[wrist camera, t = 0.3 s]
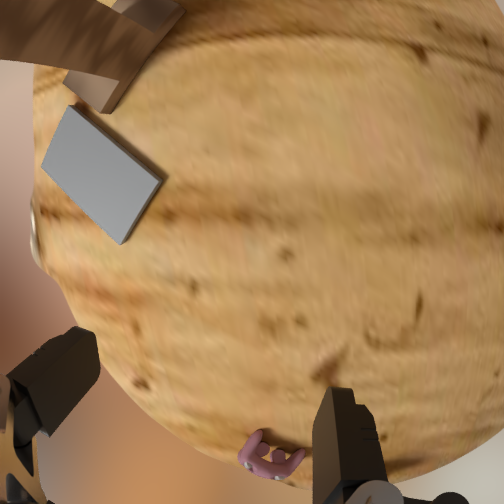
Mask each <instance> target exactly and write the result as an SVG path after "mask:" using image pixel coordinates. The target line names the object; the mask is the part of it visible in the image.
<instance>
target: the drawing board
mask: <svg viewBox="0 0 504 504" xmlns="http://www.w3.org/2000/svg"><path fill="white" fill-rule="evenodd" d="M41 168H42V169H43V170H44V171H45V172H46V173H47V174H48V175H49V176H50V177H51V178H52V179H53V180H54V181H55V183H56V184H57V185H58V186H59V187H60V188H61V189H62V190H63V191H64V192H65V193H66V194H67V195H68V196H69V197H70V198H71V199H72V200H73V201H74V202H75V203H76V204H77V205H78V206H79V207H80V208H81V209H82V210H83V211H84V212H85V213H86V214H87V215H88V216H89V217H90V218H91V219H92V220H93V221H94V222H95V223H96V224H97V225H98V226H99V227H100V228H101V229H103V230H104V231H105V232H106V233H107V234H108V235H109V236H110V237H111V238H112V239H113V240H114V241H115V242H116V243H117V244H119V245H122V244H123V243H125V241H126V239H127V238H128V236H129V234H130V232H131V231H132V229H133V227H134V226H135V224H136V222H137V221H138V219H139V217H140V216H141V214H142V212H143V211H144V209H145V208H146V206H147V204H148V203H149V201H150V200H151V198H152V197H153V195H154V194H155V192H156V190H157V189H158V187H159V186H160V184H161V183H162V181H163V180H162V179H161V178H159V177H158V176H157V175H156V174H155V173H154V172H152V171H151V170H150V169H149V168H148V167H146V166H145V165H144V164H143V163H142V162H140V161H139V160H138V159H137V158H136V157H134V156H133V155H132V154H131V153H130V152H128V151H127V150H126V149H125V148H124V147H123V146H121V145H120V144H119V143H118V142H117V141H115V140H114V139H113V138H112V137H111V136H109V135H108V134H107V133H106V132H105V131H103V130H102V129H101V128H100V127H99V126H98V125H96V124H95V123H94V122H93V121H92V120H90V119H89V118H88V117H87V116H86V115H84V114H83V113H82V112H81V111H80V110H79V109H77V108H76V107H75V106H74V105H68V107H67V109H66V111H65V113H64V115H63V117H62V119H61V121H60V123H59V125H58V127H57V129H56V131H55V134H54V136H53V138H52V140H51V143H50V145H49V147H48V150H47V152H46V155H45V157H44V160H43V162H42V165H41Z"/></svg>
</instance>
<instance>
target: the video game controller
mask: <svg viewBox="0 0 504 504" xmlns="http://www.w3.org/2000/svg"><path fill="white" fill-rule="evenodd" d="M262 435H263V433H262V431H261V430H257V431H255V432H254V433H253V434H252V435H251V436H250V437H249V439H248V440H247V442H246V443H245V445H244V447H243V448H242V449H241V450H240V451H239V453H238V456H237V458H238V461H239V463H240V464H241V465H243V466H244V467H245V468H246V469H247V470H248V471H250V472H251V473H253V474H255V475H257V476H260V477H263V478H267V479H274V480H283V479H285V478H286V477H288V476H290V475H291V474H292V473H293V471H294V470H295V469H296V468H297V466H298V465H299V464H300V463H301V461H302V460H303V459H304V456H305V450H304V449H303V448H302V449H299V450H297V451H296V452H295V453H293V454H292V455H291V456H290V457H289V458H288V459H287V460H286V459H285V452H284V451H283V450H273V451H272V452H271V454H270V459H271V462H269V461H267V460H265V459H263V458H261V457H263V456H265V455H267V454H268V453H269V450H270V447H269V445H268V444H266V443H264V442H260V441H261V439H262Z"/></svg>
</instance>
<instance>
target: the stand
mask: <svg viewBox="0 0 504 504" xmlns="http://www.w3.org/2000/svg"><path fill="white" fill-rule="evenodd" d="M185 12H186V10H185V9H184V8H183V7H182V6H181V5H180V4H178V3H176V2H174V1H172V0H117V1H116V2H115V3H114V5H113V6H112V7H111V8H110V7H108V6H106V5H104V4H102V3H100V2H98V1H96V0H0V60H1V59H2V60H10V61H11V60H12V61H20V62H27V63H34V64H41V65H47V66H53V67H58V68H64V69H69V72H68V74H67V75H66V77H65V79H64V81H63V84H64V85H65V86H67V87H68V88H69V89H70V90H72V91H73V92H74V93H75V94H77V95H78V96H79V97H80V98H81V99H83V100H84V101H85V102H86V103H88V104H89V105H90V106H91V107H93V108H94V109H95V110H96V111H98V112H99V113H102V114H111V113H112V111H113V109H114V108H115V106H116V104H117V103H118V101H119V100H120V98H121V96H122V95H123V93H124V92H125V90H126V89H127V87H128V86H129V84H130V83H131V81H132V80H133V78H134V77H135V75H136V74H137V72H138V71H139V70H140V68H141V67H142V65H143V64H144V63H145V61H146V60H147V58H148V57H149V56H150V54H151V53H152V52H153V50H154V49H155V48H156V47H157V45H158V44H159V43H160V41H161V40H162V39H163V38H164V36H165V35H166V34H167V33H168V32H169V30H170V29H171V28H172V27H173V26H174V24H175V23H176V22H177V21H178V20H179V19H180V17H181V16H182V15H183V14H184V13H185Z"/></svg>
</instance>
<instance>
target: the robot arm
mask: <svg viewBox="0 0 504 504" xmlns="http://www.w3.org/2000/svg"><path fill="white" fill-rule="evenodd" d="M100 368H101V367H100V360H99V354H98V347H97V341H96V336H95V334H94V333H93V332H91V331H88V330H86V329H83V328H80V327H78V326H74V327H72V328H71V329H70V330H68V331H67V332H66V333H65V334H64V335H59V336H57V337H54V338H52V339H49V340H48V341H47V342H46V343H44V344H43V345H42V346H41V347H40V349H39V348H38V349H37V350H36V351H35V352H33V355H32V354H31V355H30V356H29V357H27V358H26V359H25V360H24V361H23V362H21V363H20V364H19V365H18V366H17V367H15V368H14V369H13V370H12V371H11V372H10V373H8V374H7V375H6V376H5V375H3V374H0V504H55V503H53V502H51V501H50V500H48V501H47V499H46V496H45V494H44V491H43V489H42V487H41V484H40V478H39V469H38V457H37V440H36V437H35V434H36V433H37V432H38V431H40V432H41V433H43V434H45V435H46V436H48V437H50V436H51V435H52V434H53V433H54V432H55V430H56V429H57V428H58V427H59V425H60V424H61V423H62V422H63V420H64V419H65V418H66V417H67V416H68V414H69V413H70V412H71V411H72V410H73V408H74V407H75V406H76V405H77V404H78V402H79V401H80V400H81V399H82V398H83V397H84V395H85V394H86V393H87V392H88V391H89V389H90V388H91V387H92V386H93V385H94V384H95V382H96V381H97V379H98V377H99V375H100ZM378 439H379V438H378V434H377V431H376V425H375V421H374V417H373V415H372V414H371V413H370V411H369V410H368V409H367V407H366V406H365V405H360V404H356V403H355V398H354V393H353V390H352V389H351V388H341V387H330V386H329V387H328V388H327V390H326V392H325V395H324V398H323V400H322V403H321V405H320V408H319V410H318V412H317V415H316V417H315V420H314V424H313V431H312V448H313V504H469V503H468V501H467V500H466V499H465V497H463V496H462V495H460V494H458V493H455V492H446V493H443V494H441V495H439V496H437V497H436V499H434V500H433V501H426V500H419V499H413V498H408V497H404V496H402V494H401V492H400V490H399V489H398V488H397V487H396V486H394V485H393V484H391V483H389V482H388V479H387V474H386V469H385V465H384V460H383V455H382V451H381V446H380V442H379V441H378Z"/></svg>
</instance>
